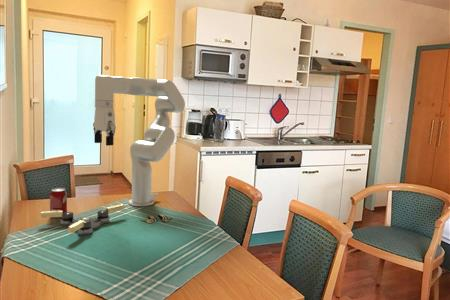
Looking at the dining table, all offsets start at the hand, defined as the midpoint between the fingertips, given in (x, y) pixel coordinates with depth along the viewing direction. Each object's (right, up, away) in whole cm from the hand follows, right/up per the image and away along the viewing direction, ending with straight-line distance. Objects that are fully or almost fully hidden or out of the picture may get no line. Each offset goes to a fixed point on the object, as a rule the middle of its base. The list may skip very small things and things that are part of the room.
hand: (103, 144), depth 166 cm
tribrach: (-3, -34, -9) cm, 35 cm away
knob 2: (+4, -31, -1) cm, 31 cm away
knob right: (-16, -31, -10) cm, 36 cm away
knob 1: (-2, -33, -22) cm, 40 cm away
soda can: (-20, -32, +1) cm, 37 cm away
